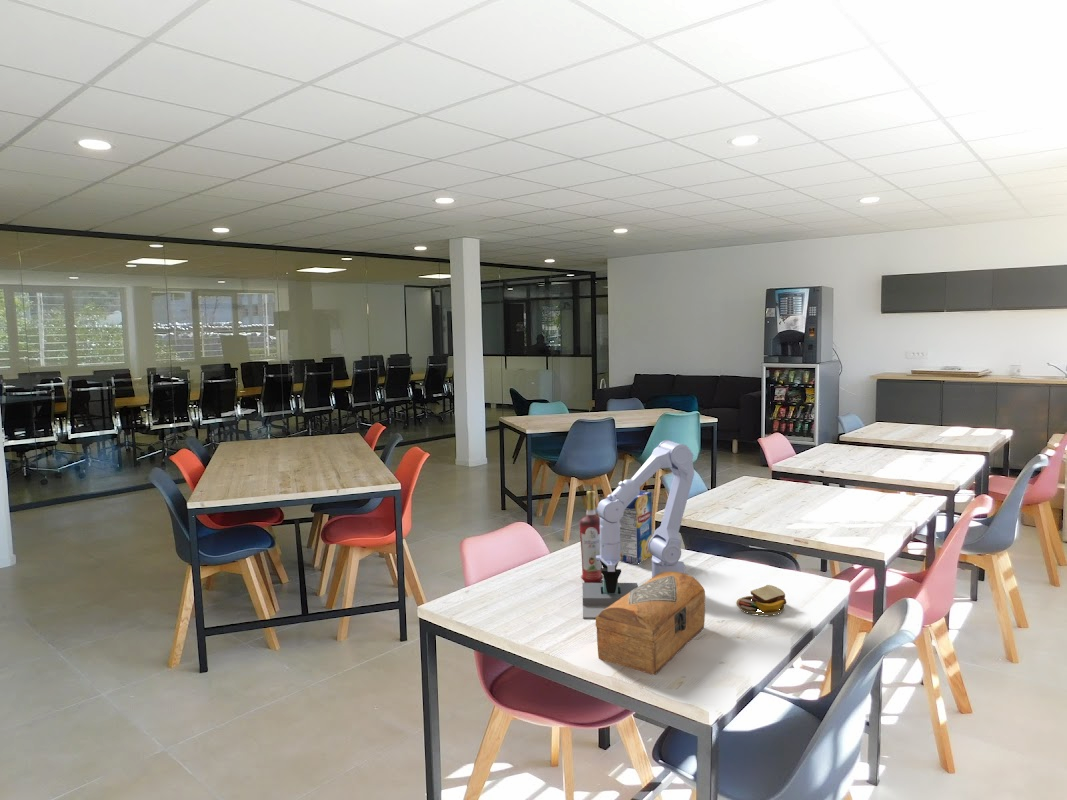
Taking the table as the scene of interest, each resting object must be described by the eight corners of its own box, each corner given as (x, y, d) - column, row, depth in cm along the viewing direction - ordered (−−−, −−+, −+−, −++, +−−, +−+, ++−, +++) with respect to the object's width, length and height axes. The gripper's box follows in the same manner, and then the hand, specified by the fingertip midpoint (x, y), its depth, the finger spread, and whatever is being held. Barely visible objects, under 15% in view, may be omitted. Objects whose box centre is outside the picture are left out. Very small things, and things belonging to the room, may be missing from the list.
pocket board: (637, 591, 202) (637, 582, 202) (640, 607, 190) (640, 598, 190) (582, 590, 203) (582, 582, 203) (582, 606, 191) (582, 598, 191)
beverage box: (618, 561, 229) (618, 496, 227) (633, 552, 238) (633, 489, 236) (637, 564, 225) (636, 498, 223) (652, 555, 234) (651, 492, 232)
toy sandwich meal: (728, 602, 193) (728, 586, 192) (772, 597, 195) (772, 581, 195) (750, 620, 181) (750, 602, 180) (797, 615, 183) (797, 597, 183)
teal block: (617, 596, 199) (617, 569, 198) (618, 601, 195) (617, 574, 194) (603, 596, 199) (603, 569, 198) (603, 601, 195) (603, 574, 194)
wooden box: (658, 678, 151) (657, 617, 150) (594, 658, 161) (593, 601, 160) (711, 629, 175) (711, 577, 174) (652, 615, 185) (652, 565, 184)
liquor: (604, 577, 214) (603, 489, 212) (604, 585, 207) (603, 494, 204) (580, 577, 215) (579, 489, 212) (579, 585, 208) (578, 494, 205)
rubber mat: (611, 606, 191) (611, 605, 191) (613, 618, 183) (613, 617, 183) (582, 606, 191) (582, 605, 191) (583, 618, 183) (582, 617, 183)
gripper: (595, 534, 203) (595, 578, 204) (596, 549, 188) (597, 597, 189) (619, 534, 202) (619, 578, 203) (622, 549, 188) (622, 597, 189)
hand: (610, 587), depth 196 cm, fingers open, 7 cm apart
